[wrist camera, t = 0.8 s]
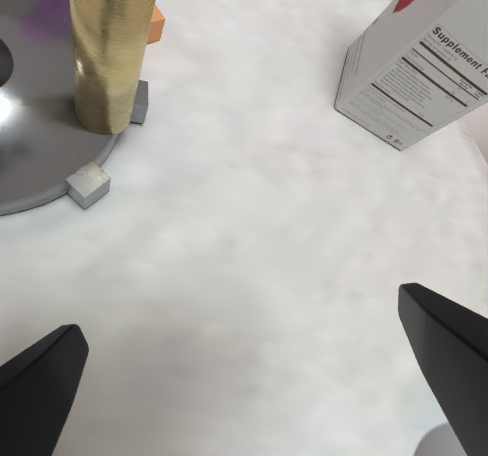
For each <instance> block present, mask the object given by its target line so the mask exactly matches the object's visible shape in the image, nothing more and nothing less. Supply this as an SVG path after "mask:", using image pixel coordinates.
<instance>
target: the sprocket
mask: <svg viewBox="0 0 488 456" xmlns="http://www.w3.org/2000/svg"><path fill="white" fill-rule="evenodd" d="M154 5H155V0H0V215H5V214H9V213H14V212H18V211H23V210H27V209H30V208H33V207H36V206H39V205H42V204H45V203H48V202H50V201H52V200H54V199H56V198H58V197H60V196H62V195H65V194H66V193H68V194H69V195H70V196H71V197H72V198H73V199H74V200H75V201H76V202H77V203H78V204H80V205H81V206H82V207H83V208H84V209H86V208H87V207H89V206H90V205H91V204H93V203H94V202H95V201H96V200H98V199H99V198H100V197H102V196H103V195H104V194H105V193H107V192H108V191H109V186H110V180H111V178H110V177H109V176H108V175H107V174H106V173H105V172H104V171H103V170H102V169H101V168H100V166H101V165H102V164H103V162H104V161H105V160H106V158H107V157H108V155H109V154H110V152H111V151H112V149H113V147H114V145H115V142H116V140H117V138H118V135H119V133H120V132H122V131H123V130H124V129H126V127H127V126H128V125H129V122H136V123H142V124H143V123H144V120H145V116H146V112H147V109H148V82H146V81H142V80H139V76H140V71H141V67H142V62H143V57H144V52H145V48H146V43H147V38H148V33H149V29H150V24H151V19H152V14H153V10H154Z"/></svg>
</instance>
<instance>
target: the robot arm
mask: <svg viewBox="0 0 488 456" xmlns="http://www.w3.org/2000/svg"><path fill="white" fill-rule="evenodd" d="M398 313H399V317H400V320H401V322H402V325H403V327H404V330H405V332H406V335H407V337H408V340H409V342H410V345H411V347H412V349H413V352H414V354H415V357H416V359H417V362H418V364H419V366H420V369H421V371H422V373H423V375H424V377H425V379H426V381H427V383H428V384H429V386H430V388H431V390H432V392H433V394H434V395H435V397H436V399H437V401H438V403H439V405H440V407H441V408H442V410H443V412H444V414H445V416H446V418H447V419H448V421H449V423H450V425H451V427H452V429H453V430H454V432H455V434H456V436H457V438H458V440H459V441H460V443H461V445H462V447H463V449H464V451H465V452H466V454H467V456H488V319H487V318H485V317H483V316H481V315H479V314H477V313H475V312H474V311H472V310H470V309H468V308H466V307H464V306H462V305H460V304H458V303H456V302H454V301H452V300H450V299H448V298H446V297H444V296H442V295H440V294H438V293H436V292H434V291H432V290H430V289H428V288H426V287H424V286H422V285H420V284H418V283H407V284H401V285H400V287H399V295H398ZM88 352H89V347H88V344H87V341H86V339H85V337H84V335H83V333H82V331H81V329H80V327H79V326H78V325H77V324H69V325H63V326H60V327H59V328H57V329H56V330H54V331H53V332H51V333H50V334H48V335H47V336H45V337H44V338H42V339H41V340H39V341H38V342H36V343H35V344H33V345H32V346H30V347H29V348H27V349H26V350H24V351H23V352H21V353H20V354H18V355H17V356H15V357H14V358H12V359H11V360H9V361H8V362H6V363H5V364H3V365H2V366H0V456H52V454H53V451H54V449H55V446H56V444H57V441H58V439H59V437H60V434H61V432H62V429H63V427H64V425H65V422H66V420H67V417H68V415H69V412H70V410H71V407H72V404H73V401H74V398H75V395H76V392H77V389H78V386H79V382H80V379H81V376H82V372H83V369H84V366H85V363H86V359H87V356H88Z"/></svg>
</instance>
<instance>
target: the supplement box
mask: <svg viewBox="0 0 488 456" xmlns="http://www.w3.org/2000/svg"><path fill="white" fill-rule="evenodd" d="M487 102H488V0H393V1H392V2H391V3H390V4H389V5H388V7H387V8H386V9H385V10H384V11H383V12H382V13H381V14H380V15H379V16H378V17H377V18H376V19H375V21H374V22H373V23H372V24H371V25H370V26H369V27H368V28H367V29H366V30H365V31H364V32H363V33H362V34H361V36H360V37H359V38H358V39H357V40H356V41H355V42H354V43H353V44H352V45H351V46H350V47H349V50H348V54H347V58H346V62H345V66H344V70H343V74H342V79H341V82H340V86H339V90H338V95H337V99H336V103H335V109H337V110H338V111H340V112H341V113H343V114H344V115H346V116H347V117H349V118H351V119H352V120H354V121H355V122H357V123H358V124H360V125H361V126H363V127H365V128H366V129H368V130H369V131H371V132H372V133H374V134H375V135H377V136H379V137H380V138H382V139H383V140H385V141H387V142H388V143H390V144H391V145H393V146H394V147H396V148H398V149H399V150H401V151H402V150H404V149H405V148H407V147H409V146H411V145H412V144H414V143H416V142H418V141H419V140H421V139H423V138H425V137H427V136H428V135H430V134H432V133H434V132H436V131H437V130H439V129H441V128H443V127H444V126H446V125H448V124H450V123H452V122H453V121H455V120H457V119H459V118H460V117H462V116H464V115H466V114H468V113H469V112H471V111H473V110H475V109H476V108H478V107H480V106H482V105H484V104H485V103H487Z"/></svg>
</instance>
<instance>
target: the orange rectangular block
mask: <svg viewBox="0 0 488 456" xmlns="http://www.w3.org/2000/svg"><path fill="white" fill-rule="evenodd" d="M164 21H165V18H164V16H163V15H162V14H161V12H160V11H159V9H158V8H157V7H156V5H154V10H153V14H152V19H151V24H150V29H149V33H148V38H147V43H146V44H149V43H152V42H155V41H158V40H160V37H161V33H162V29H163V25H164Z"/></svg>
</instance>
